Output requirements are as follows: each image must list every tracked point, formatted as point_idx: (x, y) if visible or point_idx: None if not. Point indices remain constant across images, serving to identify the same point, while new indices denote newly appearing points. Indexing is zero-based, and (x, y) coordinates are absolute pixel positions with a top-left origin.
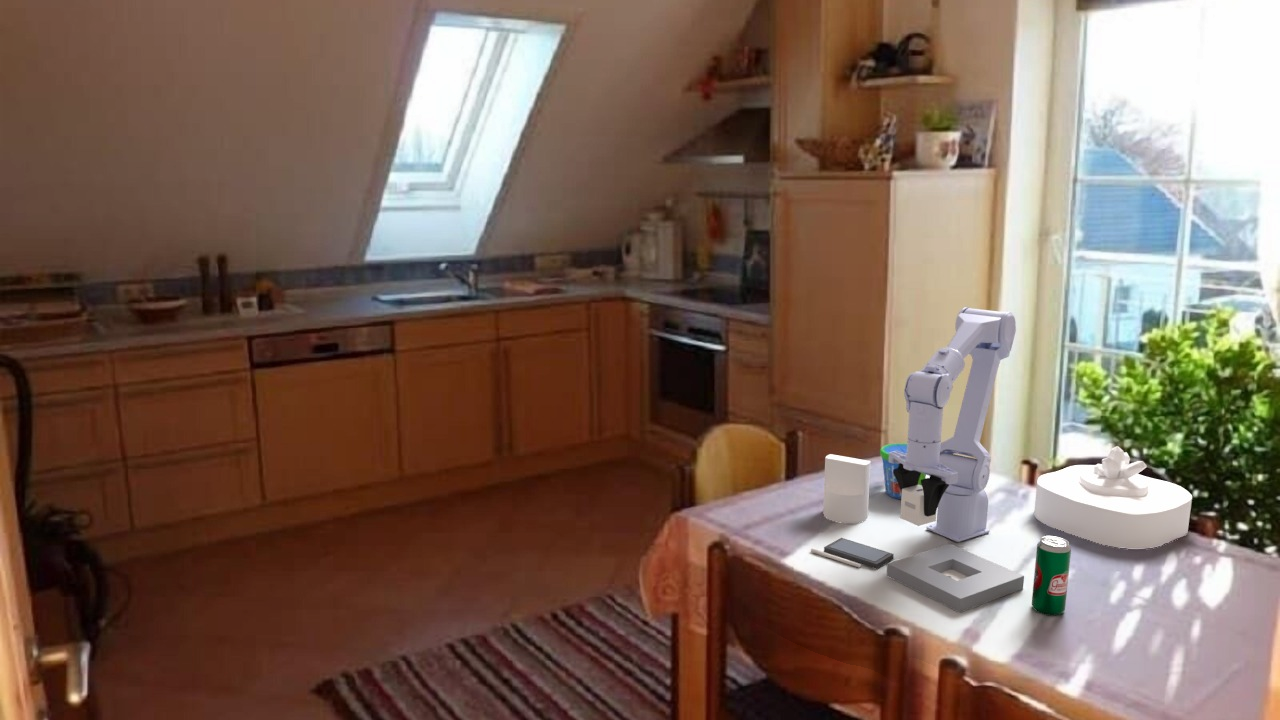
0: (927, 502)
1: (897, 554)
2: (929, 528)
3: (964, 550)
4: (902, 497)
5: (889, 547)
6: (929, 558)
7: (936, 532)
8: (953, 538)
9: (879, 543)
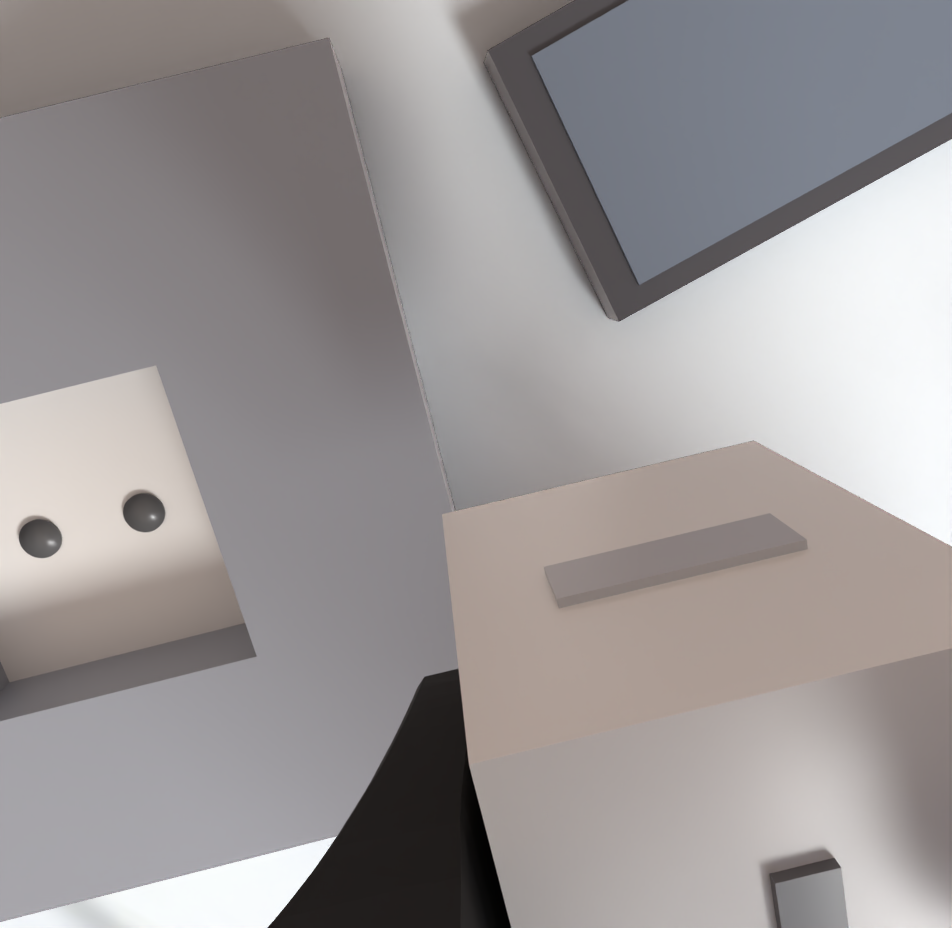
0: (373, 801)
1: (669, 399)
2: None
3: None
4: (910, 545)
5: (801, 413)
6: (314, 482)
7: None
8: None
9: (894, 380)
